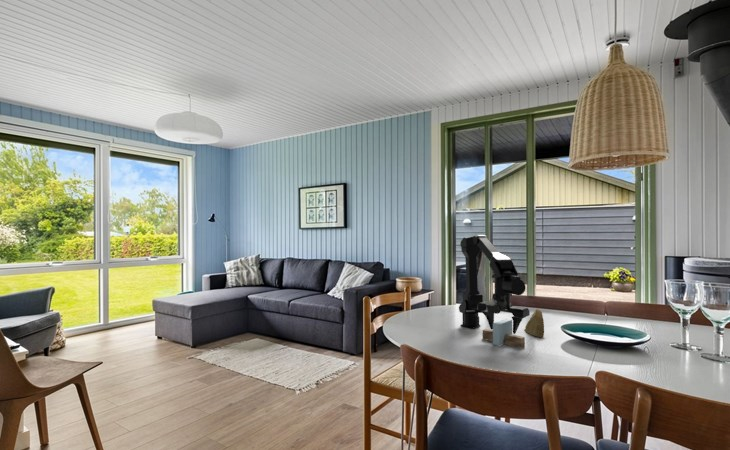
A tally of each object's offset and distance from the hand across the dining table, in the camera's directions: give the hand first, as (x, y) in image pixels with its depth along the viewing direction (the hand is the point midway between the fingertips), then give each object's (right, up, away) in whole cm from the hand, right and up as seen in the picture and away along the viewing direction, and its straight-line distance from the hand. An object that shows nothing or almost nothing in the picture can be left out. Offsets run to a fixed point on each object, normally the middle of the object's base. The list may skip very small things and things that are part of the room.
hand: (502, 331), depth 149 cm
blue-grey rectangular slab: (0, -4, 0) cm, 4 cm away
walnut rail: (0, -4, 0) cm, 4 cm away
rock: (+17, -4, +11) cm, 21 cm away
